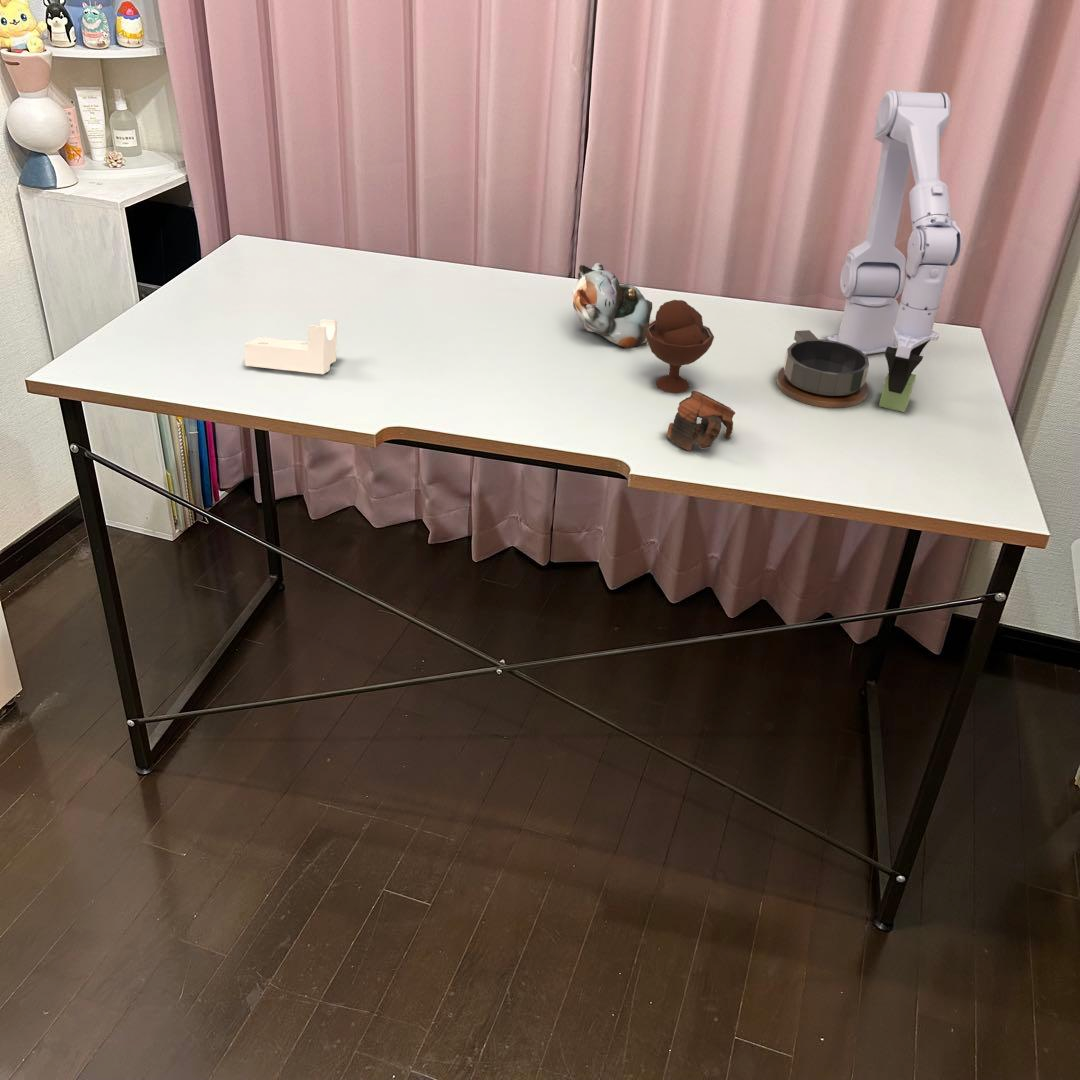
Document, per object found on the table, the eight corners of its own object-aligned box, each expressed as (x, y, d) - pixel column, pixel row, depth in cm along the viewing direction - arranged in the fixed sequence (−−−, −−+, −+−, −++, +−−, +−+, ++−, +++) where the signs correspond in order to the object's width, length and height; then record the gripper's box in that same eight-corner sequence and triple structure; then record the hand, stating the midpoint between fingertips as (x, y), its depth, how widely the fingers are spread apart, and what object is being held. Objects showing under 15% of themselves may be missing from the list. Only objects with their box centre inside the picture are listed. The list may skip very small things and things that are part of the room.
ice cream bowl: (703, 404, 182) (716, 317, 174) (634, 394, 184) (644, 307, 175) (708, 376, 191) (721, 291, 183) (643, 367, 193) (652, 283, 184)
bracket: (336, 366, 189) (337, 320, 186) (323, 374, 182) (324, 327, 180) (260, 357, 190) (260, 312, 188) (244, 365, 183) (244, 318, 181)
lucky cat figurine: (648, 353, 197) (619, 290, 188) (585, 366, 202) (554, 306, 193) (660, 299, 206) (633, 236, 197) (600, 313, 211) (570, 252, 202)
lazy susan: (832, 362, 198) (833, 357, 198) (885, 400, 187) (887, 395, 186) (759, 373, 193) (760, 368, 192) (809, 413, 182) (810, 408, 181)
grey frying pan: (877, 396, 185) (883, 371, 183) (802, 401, 183) (807, 376, 180) (832, 351, 199) (837, 328, 196) (762, 355, 196) (766, 332, 193)
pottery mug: (654, 429, 176) (679, 381, 174) (704, 453, 179) (729, 406, 177) (679, 449, 164) (706, 398, 163) (733, 474, 168) (760, 424, 166)
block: (883, 396, 188) (890, 368, 185) (909, 402, 187) (916, 374, 184) (878, 406, 185) (885, 378, 182) (904, 412, 184) (911, 384, 181)
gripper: (938, 324, 169) (917, 406, 177) (952, 293, 180) (931, 370, 188) (891, 314, 171) (871, 395, 179) (907, 284, 182) (889, 361, 190)
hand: (899, 382), depth 184 cm, fingers open, 7 cm apart
